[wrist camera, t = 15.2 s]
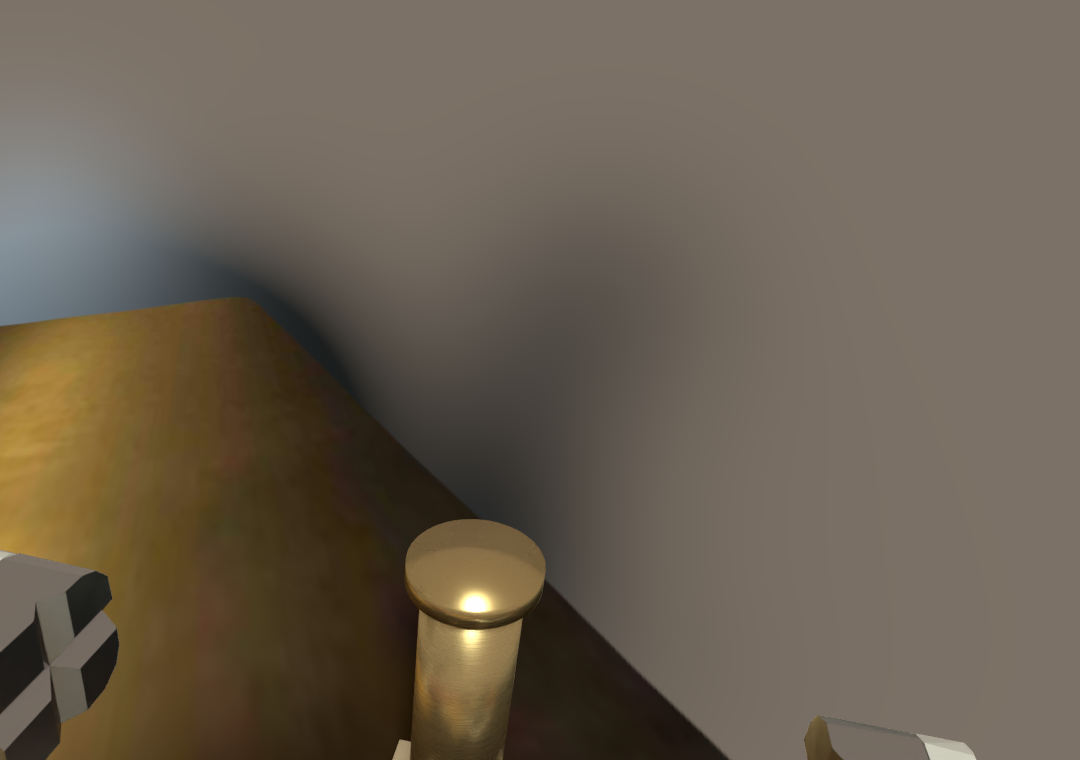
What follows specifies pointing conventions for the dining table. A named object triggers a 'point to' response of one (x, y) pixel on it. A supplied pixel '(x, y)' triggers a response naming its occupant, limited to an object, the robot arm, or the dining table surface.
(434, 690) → the cover plug
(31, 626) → the robot arm
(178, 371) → the dining table surface
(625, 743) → the dining table surface
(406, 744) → the coaster
